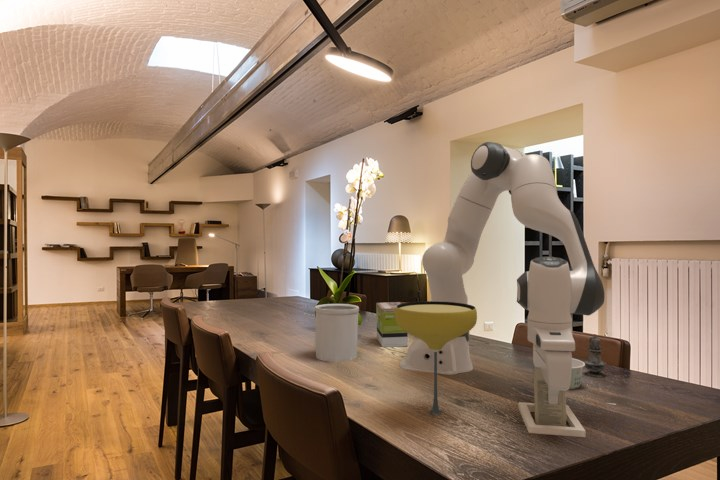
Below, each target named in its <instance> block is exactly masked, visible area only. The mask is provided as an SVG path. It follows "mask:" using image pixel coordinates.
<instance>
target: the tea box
mask: <svg viewBox="0 0 720 480" xmlns="http://www.w3.org/2000/svg"><path fill="white" fill-rule="evenodd" d="M399 304H402V303H401V302H400V301H396V302H395V301H394V302H393V301H391V302H389V301H388V302H376V303H375V307H376V308H375V310H376V315H375V316H376V340H378V342H379V344H380V346H381V347H382V348H398V347H399V348H400V347H408V345H409V343H408V342H409V340H408V339H409V337H408V334H409V333H407V332H406V331H404V330H403V329H402V328H401V327H400V326H399V325H398V324H397V323H396V319H395V310H396V306H397V305H399Z"/></svg>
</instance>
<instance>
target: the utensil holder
mask: <svg viewBox="0 0 720 480" xmlns="http://www.w3.org/2000/svg"><path fill="white" fill-rule="evenodd" d="M314 311H315V358H316V359H317V360H319V361H323V362H331V363H334V362H335V363H338V362H339V363H342V362H349V361H354V360H357V357H358V338H359V337H358V335H359V333H358V331H359V312H360V307H359V305H355V304H351V303H350V304H349V303H324V304H318V305H315V307H314Z"/></svg>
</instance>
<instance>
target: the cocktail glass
mask: <svg viewBox="0 0 720 480" xmlns="http://www.w3.org/2000/svg"><path fill="white" fill-rule="evenodd" d="M395 319H396V323H397V324H398V325H399V326H400V327H401V328H402V329H403V330H404V331H406V332H407V333H408V334H409V335H411V336H413V337H415V338H417V339H418V338H419V339H420V340H422V341H424V342H425V343H426V344H427V345H428V347H429V348H430V350H431V351H433V352H434V373H433V378H434V379H433V401H432V402H433V404H432V408H431V409H429V410H428V413H430V414H433V415H441V414H443V413H444V411H443V410H441V409H440V408H439V407H440V406H439V399H438V373H437V352H439V351H440V350H441V349H442V348H443V346H444V345H445V344H446V343H447V342H449V341H451V340H453V339H455V338H457V337H459V336H461V335H463V334H465V333H467V332H470V331H471V330H472V329H474V328H475V326H476V324H477V321H478V313H477V308H476V306H474V305H471V304H463V303H455V302H439V301H430V300H428V301H426V300H425V301H424V300H423V301H412V302H411V301H410V302H404V303H401V304H399V305H397V306H396V310H395Z"/></svg>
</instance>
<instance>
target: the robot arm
mask: <svg viewBox="0 0 720 480" xmlns="http://www.w3.org/2000/svg"><path fill="white" fill-rule="evenodd" d="M552 168H553V167H552V166H551V164H550V161H549V160H548V158H546V157H545V156H543V155H540V154H535V153H533V154H526V153H524V152H522V151H520V150H518V149H514V148H511V147H508V146H504V145H502V144H500V143H499V142H492V141H486V142H483V143H482V144H480V145H479V146H478V147H477V148H476V149H475V150H474V152H473V154H472V156H471V160H470V169H471V172H470V173H469V175H468V176H467V178H466V180H465V181H464V183H463V185H462V187H461V189H460V191H459V193H458V195H457V197H456V199H455V202H454V203H453V206H452V208H451V210H450V213H449V216H448V218H447V228H446V232H445V236H444V239H443V241H441V242H436V243H434V244H433V245H431V246H430V247H428V248H427V249H426V250H425V251H424V253H423V255H422V258H421V259H422V260H421V265H422V268H423V270H424V271H425V273H426V276H427V280H428V286H429V290H430V291H429V292H430V299H431V301H439V302H455V303H463V304H468V300H469V299H468V295H467V293H466V289H465V285H464V280H463V279H464V278H463V275H465V274H467V273H468V272H469V271H470V270H471V269H472V266H473V265H474V262H475V258H476V257H475V256H476V254H477V252H478V251H477V250H478V248H479V244H480V240H481V236H482V234H483V231H484V229H485V227H486V224H487V223H488V221H489V218H490V216H491V215H492V211H493V209H494V207H495V204H496V202H497V200H498V197H499V196H500V194H502V193H503V192H507V191H508V193H509V195H510V201H511V208H512V213H513V215H514V217H515V219H516V220H517V221H518V222H519V223H520V224H522V225H523V226H525V227H526V228H528V229H531V230H534V231H537V232H541V233H544V234H547V235H548V236H552V237H554V238H556V239H558V240H559V241H560V242H561V243H562V244H563V245H564V248H565V250H566V254H567V256H568V260H569V262H568V261H567V260H566V259H563V258H561V257H554V256H540V257H535V258H533V259H531V260H530V262H529V263H530V264H529V270H528V271H524V272H523V273H522V274H521V275H520V276H519V277H518V278H517V279H516V286H517V291H516V292H517V293H516V294H517V295H516V303H517V304H519V306H521V307H522V308H523V310H524V309H525V310H526V311H528V315H527V341H528V342H529V343H532V344H533V346H532V360H533V362H532V364H533V365H534V367H538V368H539V369H540V370H541V371H542V377H543V379H544V380H545V382H546V384H547V385H548V393H547V400H548V402H549V404H555V405H556V404H557V403H558V394H559V391H565V392H567V391H568V390H570V389H569V387H570V383H571V371H572V358H573V355H572V354H573V353H572V352H575V351H576V341H575V339H574V335H573V317H572V315H571V314H573V315H582V316H587V317H588V316H591V315H593V314H595V312H597V311H598V310H599V309H600V308H602V307H603V305H604V303H605V298H606V297H605V288H604V285H603V282H602V279H601V277H600V275H599V273H598V270H597V269H596V267H595V264H594V261H593V259H592V256H591V253H590V250H589V248H588V245H587V242H586V238H585V236H584V233H583V230H582V227H581V225H580V222H579V220H578V218H577V217H576V214H575V212H574V211H572V210H570V209H568V208H567V207H566V206H565V205H564V204H563V203H562V201H561V199H560V198H559V195H558V190H557V189H558V188H557V184H556V183H557V182H556V179H555V174H554V172H553V169H552ZM569 263H570V264H569ZM570 266H571V269H572V270H571V269H570ZM468 305H469V304H468ZM469 341H470V331H469V332H467V333H465V334H463V335H461V336H459V337H457V338H455V339H453V340H451V341H449V342H447V343H446V344H445V345H444V346H443V348H442V349H441V350H440V351H439V352H437V375H439V374H441V375H447V376H452V375H456V374H460V373H467V372H471V371H473V370H474V365H473V364H472V359H471V354H470V353H471V352H470V347H469V346H470V345H469ZM399 367H400V369H401V370H403V371H404V370H405V371H413V372H420V373H430V374H434V352H433V351H431V350H430V348H429V347H428V345H427V344H426V343H425V342H424V341H422V340H420V339H419V338H417V339H416V340H415V341H413V342H412V343H411V344H410V345H409V347H408V349H407V352H406V357H404V358H402V359H401V360H400V362H399Z"/></svg>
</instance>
